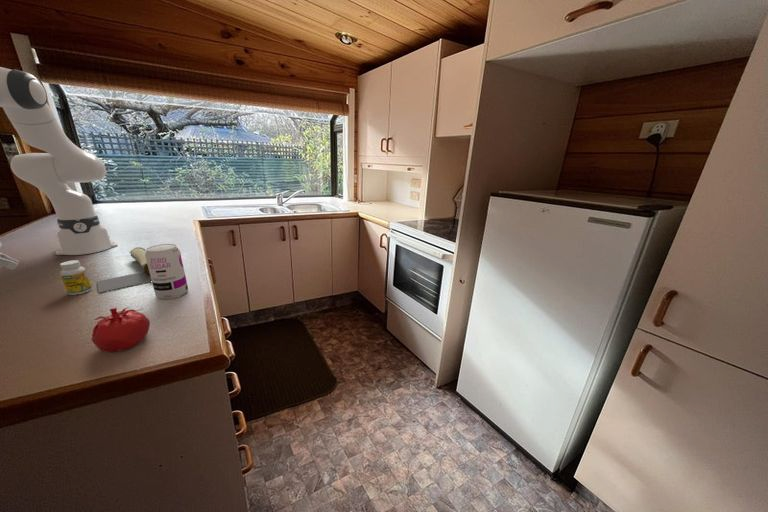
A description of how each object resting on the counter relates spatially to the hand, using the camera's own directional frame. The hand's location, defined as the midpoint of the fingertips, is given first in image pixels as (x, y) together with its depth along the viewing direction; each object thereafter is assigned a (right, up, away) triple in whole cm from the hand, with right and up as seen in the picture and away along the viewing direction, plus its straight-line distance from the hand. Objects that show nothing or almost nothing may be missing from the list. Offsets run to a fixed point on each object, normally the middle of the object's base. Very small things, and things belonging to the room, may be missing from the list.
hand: (17, 265), depth 79 cm
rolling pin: (+12, -2, +29) cm, 31 cm away
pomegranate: (+40, -17, -12) cm, 46 cm away
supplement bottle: (+7, -9, +10) cm, 15 cm away
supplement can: (+35, -9, +10) cm, 37 cm away
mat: (+16, -5, +19) cm, 25 cm away
